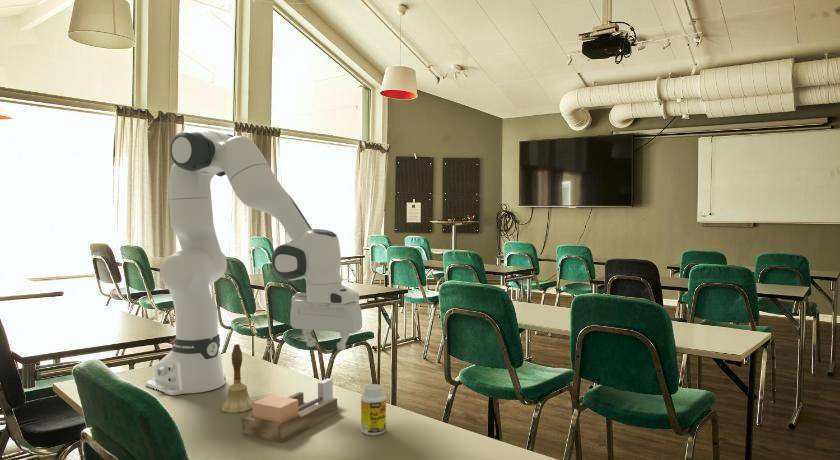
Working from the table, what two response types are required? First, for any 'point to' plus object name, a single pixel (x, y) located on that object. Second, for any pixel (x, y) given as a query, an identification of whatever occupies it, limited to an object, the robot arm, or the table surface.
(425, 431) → the table surface
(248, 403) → the hand bell
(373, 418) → the supplement bottle
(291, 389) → the table surface
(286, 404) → the pull block
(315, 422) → the shelf lane
